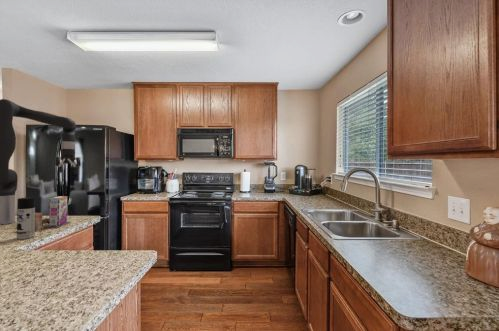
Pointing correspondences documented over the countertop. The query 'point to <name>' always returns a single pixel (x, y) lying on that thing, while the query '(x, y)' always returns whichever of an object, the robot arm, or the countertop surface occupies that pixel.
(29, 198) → the spray can
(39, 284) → the countertop surface
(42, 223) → the rack
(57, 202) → the candy bar box
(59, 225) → the rubber mat
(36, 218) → the cherry offcut
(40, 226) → the maple offcut
